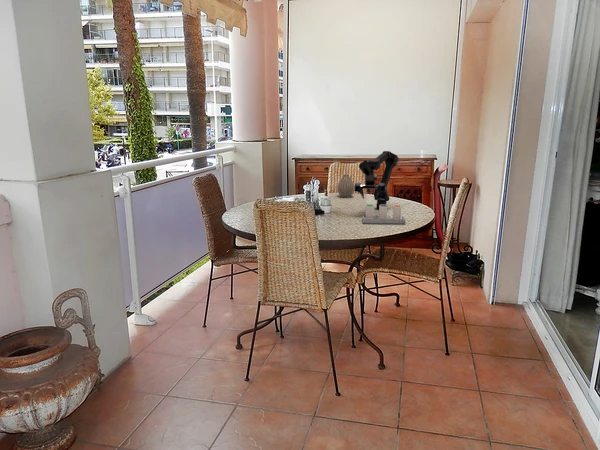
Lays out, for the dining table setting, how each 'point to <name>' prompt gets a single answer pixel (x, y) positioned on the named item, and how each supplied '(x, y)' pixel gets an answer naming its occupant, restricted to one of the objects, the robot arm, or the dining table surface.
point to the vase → (345, 186)
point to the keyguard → (383, 220)
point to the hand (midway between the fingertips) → (369, 198)
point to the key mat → (385, 223)
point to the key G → (369, 210)
